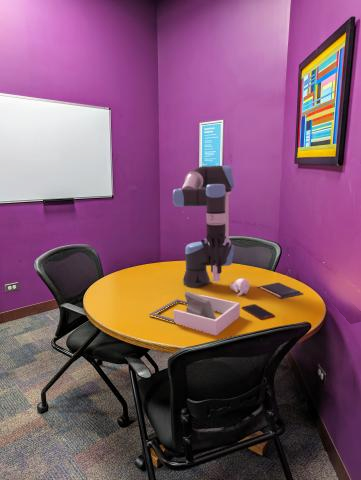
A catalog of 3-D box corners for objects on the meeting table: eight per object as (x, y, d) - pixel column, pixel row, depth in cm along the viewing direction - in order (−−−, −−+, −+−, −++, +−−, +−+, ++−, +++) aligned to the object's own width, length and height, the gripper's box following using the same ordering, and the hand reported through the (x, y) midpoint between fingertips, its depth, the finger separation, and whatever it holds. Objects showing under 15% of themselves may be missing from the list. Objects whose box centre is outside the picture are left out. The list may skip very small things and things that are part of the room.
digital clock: (218, 323, 143) (217, 299, 141) (198, 327, 139) (198, 303, 137) (199, 309, 157) (199, 287, 155) (181, 313, 154) (181, 291, 152)
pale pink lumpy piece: (240, 280, 169) (226, 276, 180) (241, 297, 170) (227, 292, 181) (250, 278, 172) (235, 274, 182) (251, 294, 173) (236, 290, 183)
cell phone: (254, 305, 161) (254, 303, 160) (275, 317, 148) (275, 315, 147) (240, 308, 158) (240, 306, 157) (260, 321, 144) (261, 319, 144)
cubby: (174, 323, 143) (173, 310, 142) (200, 306, 160) (200, 294, 159) (215, 335, 132) (215, 321, 131) (239, 316, 149) (239, 303, 148)
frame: (149, 316, 151) (149, 314, 151) (177, 301, 168) (177, 299, 168) (173, 323, 144) (173, 320, 144) (199, 306, 161) (199, 304, 160)
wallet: (304, 291, 172) (280, 297, 166) (304, 295, 172) (280, 300, 167) (279, 280, 190) (256, 284, 185) (279, 284, 191) (256, 288, 185)
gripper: (196, 223, 136) (197, 280, 141) (226, 226, 128) (226, 285, 133) (206, 221, 142) (207, 275, 147) (235, 223, 134) (235, 280, 139)
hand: (216, 280), depth 140 cm, fingers closed
